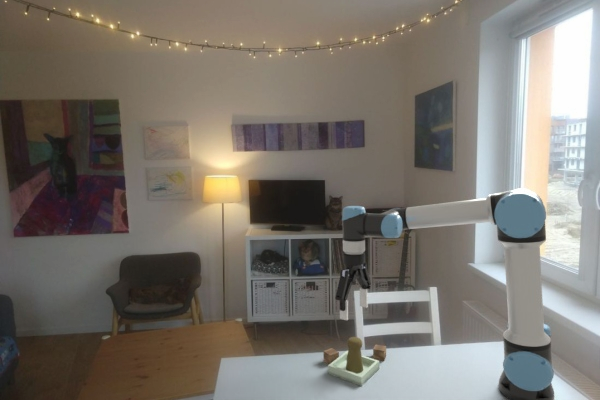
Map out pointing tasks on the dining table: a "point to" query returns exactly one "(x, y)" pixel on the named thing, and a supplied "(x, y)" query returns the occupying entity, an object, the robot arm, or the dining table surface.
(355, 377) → the tray
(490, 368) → the dining table surface
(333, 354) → the walnut cube
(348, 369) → the olive tall rounded piece
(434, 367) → the dining table surface
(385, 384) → the dining table surface
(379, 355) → the walnut cube
